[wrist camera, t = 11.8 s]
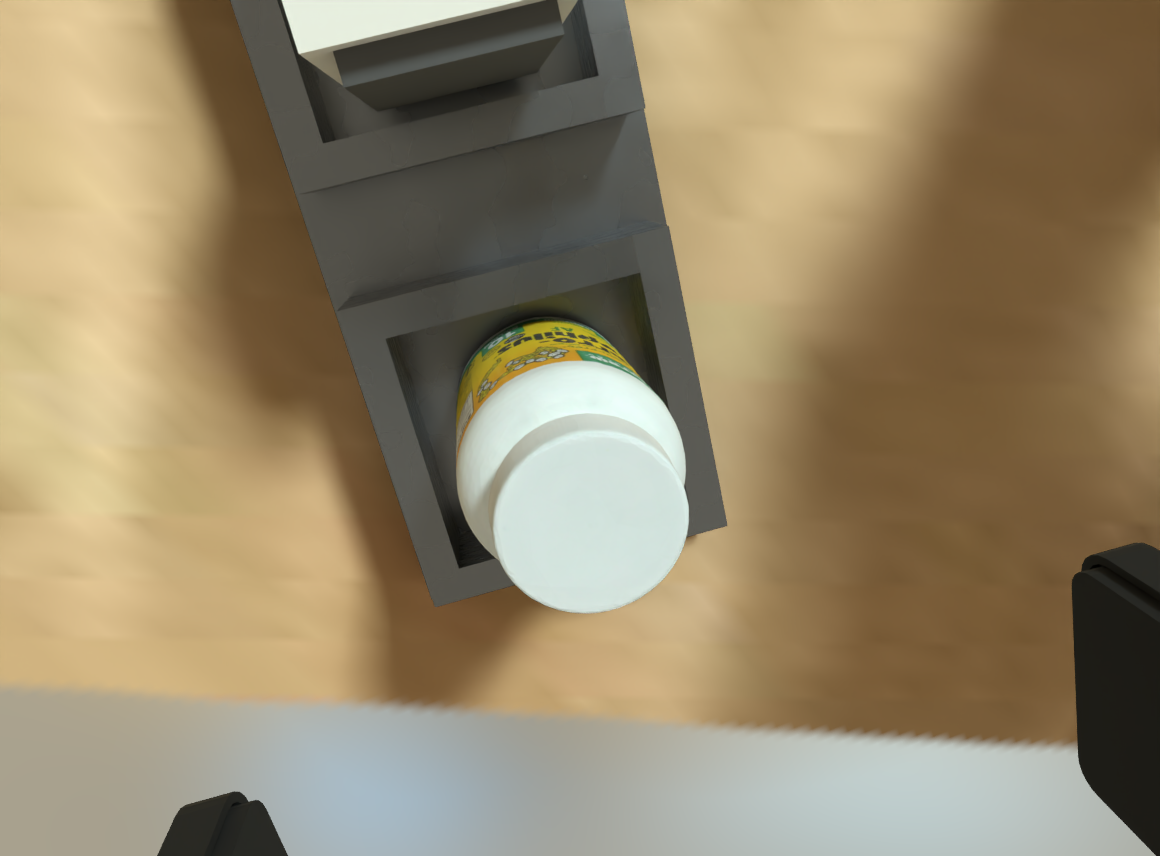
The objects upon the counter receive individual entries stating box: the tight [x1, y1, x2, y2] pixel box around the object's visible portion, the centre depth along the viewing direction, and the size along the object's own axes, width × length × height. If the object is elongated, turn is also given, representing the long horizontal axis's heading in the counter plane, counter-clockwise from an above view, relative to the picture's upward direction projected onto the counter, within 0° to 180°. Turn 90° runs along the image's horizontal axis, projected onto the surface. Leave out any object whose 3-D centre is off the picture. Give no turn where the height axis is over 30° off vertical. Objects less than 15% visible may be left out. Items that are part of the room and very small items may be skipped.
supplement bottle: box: [456, 317, 689, 613], centre depth 21 cm, size 5×5×10 cm
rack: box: [230, 0, 727, 607], centre depth 23 cm, size 23×10×4 cm, turn 14°
